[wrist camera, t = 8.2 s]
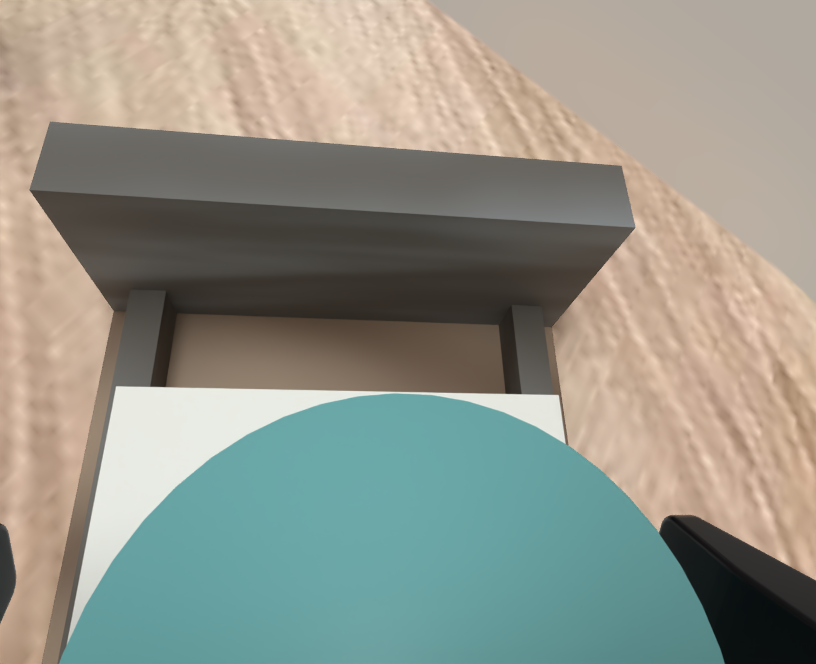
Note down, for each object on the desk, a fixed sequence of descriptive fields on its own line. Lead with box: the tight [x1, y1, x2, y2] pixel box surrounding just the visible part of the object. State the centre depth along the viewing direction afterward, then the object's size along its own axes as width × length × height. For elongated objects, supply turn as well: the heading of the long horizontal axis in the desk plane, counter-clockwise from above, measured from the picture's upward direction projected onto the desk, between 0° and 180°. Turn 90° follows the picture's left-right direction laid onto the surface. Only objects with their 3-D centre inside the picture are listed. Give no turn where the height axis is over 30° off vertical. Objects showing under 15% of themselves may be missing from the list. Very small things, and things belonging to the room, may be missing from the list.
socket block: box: [67, 386, 566, 644], centre depth 13 cm, size 10×10×5 cm
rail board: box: [30, 122, 635, 664], centre depth 14 cm, size 20×14×7 cm
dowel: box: [59, 393, 725, 664], centre depth 9 cm, size 4×4×13 cm
